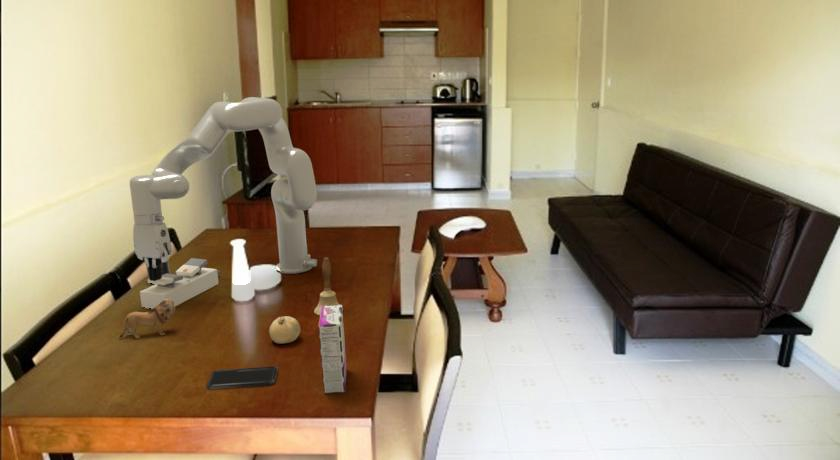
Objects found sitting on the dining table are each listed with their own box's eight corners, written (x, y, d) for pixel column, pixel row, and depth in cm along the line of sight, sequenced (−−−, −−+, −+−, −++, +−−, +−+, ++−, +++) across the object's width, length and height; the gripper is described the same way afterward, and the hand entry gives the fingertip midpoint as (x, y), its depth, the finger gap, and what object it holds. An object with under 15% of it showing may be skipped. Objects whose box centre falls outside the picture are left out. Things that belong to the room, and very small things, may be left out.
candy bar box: (325, 370, 153) (321, 305, 148) (347, 369, 153) (343, 303, 149) (322, 394, 142) (317, 325, 138) (345, 393, 142) (341, 323, 138)
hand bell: (326, 303, 193) (322, 252, 189) (348, 308, 189) (345, 256, 185) (308, 313, 186) (304, 260, 182) (331, 318, 182) (327, 264, 178)
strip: (230, 277, 217) (228, 261, 216) (166, 311, 190) (163, 292, 189) (208, 275, 221) (206, 258, 219) (142, 307, 194) (139, 289, 192)
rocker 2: (208, 264, 209) (206, 259, 208) (192, 278, 202) (190, 272, 201) (193, 262, 211) (191, 257, 210) (177, 276, 204) (175, 270, 204)
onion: (267, 337, 172) (265, 312, 170) (297, 332, 174) (295, 307, 172) (273, 349, 164) (270, 323, 162) (304, 343, 167) (302, 318, 165)
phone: (273, 382, 146) (205, 386, 145) (274, 386, 147) (206, 391, 146) (278, 365, 154) (213, 369, 153) (278, 370, 154) (213, 374, 153)
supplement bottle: (174, 278, 219) (170, 243, 215) (164, 285, 212) (160, 249, 209) (155, 277, 219) (150, 243, 216) (144, 284, 213) (139, 249, 210)
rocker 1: (182, 281, 198) (182, 274, 198) (163, 287, 191) (163, 280, 191) (167, 279, 201) (167, 273, 200) (147, 284, 193) (147, 278, 193)
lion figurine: (177, 325, 180) (173, 295, 178) (178, 332, 176) (174, 301, 173) (119, 335, 175) (114, 304, 172) (119, 343, 170) (114, 311, 168)
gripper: (178, 217, 188) (185, 278, 193) (137, 214, 193) (145, 272, 198) (159, 223, 181) (167, 286, 186) (118, 219, 187) (126, 280, 191)
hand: (155, 279), depth 192 cm, fingers closed
